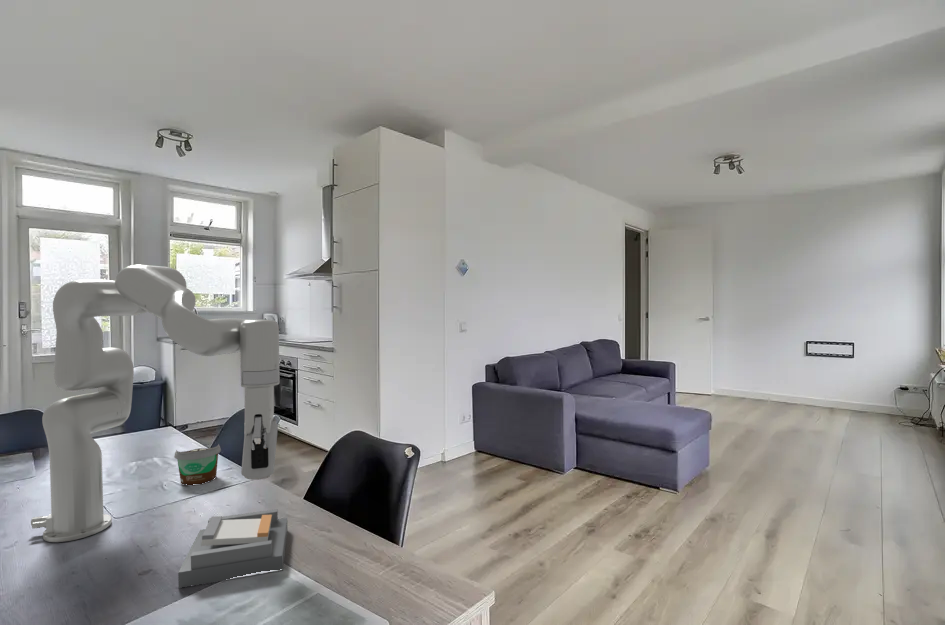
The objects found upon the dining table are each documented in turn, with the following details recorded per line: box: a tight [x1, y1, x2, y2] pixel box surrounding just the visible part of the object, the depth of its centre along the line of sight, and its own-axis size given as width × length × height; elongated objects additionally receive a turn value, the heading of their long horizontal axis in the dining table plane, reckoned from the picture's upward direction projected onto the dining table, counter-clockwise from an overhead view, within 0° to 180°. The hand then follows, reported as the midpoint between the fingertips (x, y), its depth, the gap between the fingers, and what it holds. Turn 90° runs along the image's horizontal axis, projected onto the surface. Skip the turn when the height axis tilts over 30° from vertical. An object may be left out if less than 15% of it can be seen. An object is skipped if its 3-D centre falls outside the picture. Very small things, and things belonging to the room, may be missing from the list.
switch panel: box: [177, 509, 288, 589], centre depth 101 cm, size 18×18×6 cm
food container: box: [173, 443, 222, 486], centre depth 144 cm, size 12×6×10 cm, turn 117°
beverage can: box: [241, 417, 279, 481], centre depth 103 cm, size 6×6×12 cm
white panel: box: [201, 515, 272, 546], centre depth 101 cm, size 12×9×2 cm
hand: (261, 461), depth 103 cm, fingers closed on beverage can, 6 cm apart
